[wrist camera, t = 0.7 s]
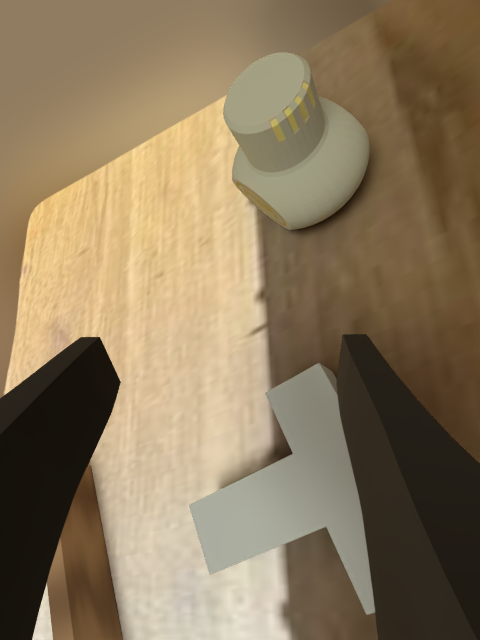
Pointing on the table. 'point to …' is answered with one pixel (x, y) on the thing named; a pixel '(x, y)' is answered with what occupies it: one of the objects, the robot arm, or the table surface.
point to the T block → (293, 488)
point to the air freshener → (293, 143)
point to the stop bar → (82, 574)
